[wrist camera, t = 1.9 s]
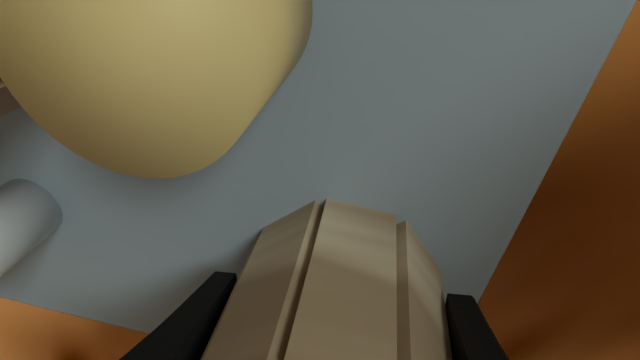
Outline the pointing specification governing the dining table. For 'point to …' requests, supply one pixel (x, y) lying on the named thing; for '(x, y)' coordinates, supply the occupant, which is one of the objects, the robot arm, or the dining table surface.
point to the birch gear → (335, 292)
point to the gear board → (271, 132)
